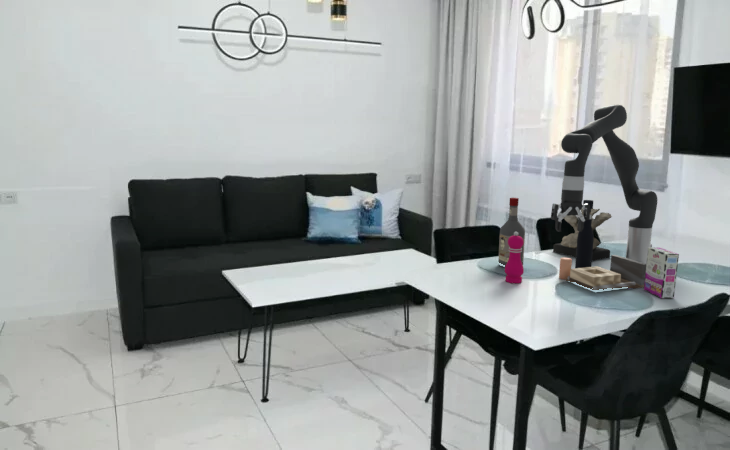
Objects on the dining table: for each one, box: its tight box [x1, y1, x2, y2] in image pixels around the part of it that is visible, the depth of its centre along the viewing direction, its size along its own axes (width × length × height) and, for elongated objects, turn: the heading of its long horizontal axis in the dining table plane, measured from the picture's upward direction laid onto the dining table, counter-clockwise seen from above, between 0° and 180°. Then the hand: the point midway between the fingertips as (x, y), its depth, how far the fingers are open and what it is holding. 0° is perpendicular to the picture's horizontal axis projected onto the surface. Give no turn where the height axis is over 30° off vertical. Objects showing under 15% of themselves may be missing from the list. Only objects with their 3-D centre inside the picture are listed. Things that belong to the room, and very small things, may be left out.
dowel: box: [558, 257, 573, 281], centre depth 216 cm, size 4×4×8 cm
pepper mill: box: [504, 232, 525, 284], centre depth 211 cm, size 7×7×20 cm
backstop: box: [565, 254, 647, 290], centre depth 208 cm, size 24×16×9 cm
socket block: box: [570, 266, 621, 288], centre depth 206 cm, size 13×13×4 cm
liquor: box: [498, 197, 526, 266], centre depth 232 cm, size 9×9×30 cm
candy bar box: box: [643, 247, 680, 300], centre depth 195 cm, size 11×5×16 cm, turn 5°
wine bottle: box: [574, 199, 595, 269], centre depth 225 cm, size 6×6×30 cm
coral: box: [552, 208, 613, 262], centre depth 257 cm, size 25×20×21 cm
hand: (568, 231), depth 203 cm, fingers open, 8 cm apart
